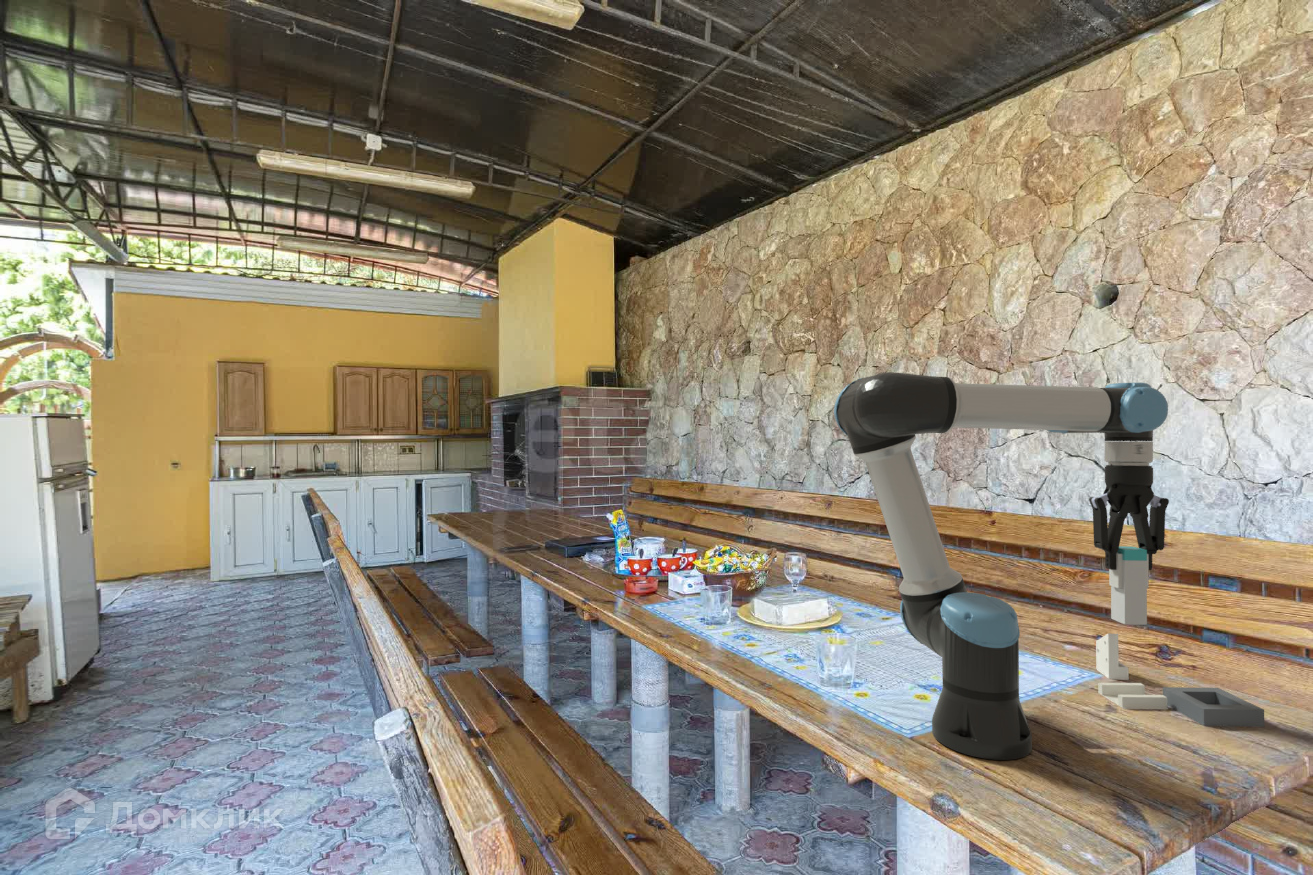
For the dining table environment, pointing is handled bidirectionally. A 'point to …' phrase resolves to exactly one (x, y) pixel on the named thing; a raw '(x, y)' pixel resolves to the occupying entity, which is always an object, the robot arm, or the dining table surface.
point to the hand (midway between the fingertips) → (1128, 586)
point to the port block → (1213, 707)
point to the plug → (1131, 588)
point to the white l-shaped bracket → (1110, 658)
